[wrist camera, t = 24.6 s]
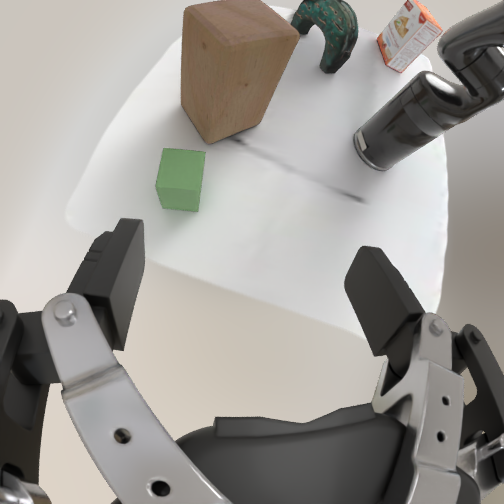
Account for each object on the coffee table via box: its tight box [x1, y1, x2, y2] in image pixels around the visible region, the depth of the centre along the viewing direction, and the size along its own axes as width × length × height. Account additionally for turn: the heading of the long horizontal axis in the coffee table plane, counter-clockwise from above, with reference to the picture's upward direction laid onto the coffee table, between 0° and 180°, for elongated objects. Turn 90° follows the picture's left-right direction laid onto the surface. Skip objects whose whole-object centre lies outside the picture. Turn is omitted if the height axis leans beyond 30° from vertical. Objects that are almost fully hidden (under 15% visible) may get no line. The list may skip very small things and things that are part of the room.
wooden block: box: [181, 0, 300, 144], centre depth 30 cm, size 10×10×20 cm
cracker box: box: [377, 0, 443, 73], centre depth 44 cm, size 14×6×21 cm, turn 174°
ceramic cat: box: [291, 0, 358, 73], centre depth 38 cm, size 20×6×20 cm, turn 20°
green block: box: [156, 148, 206, 212], centre depth 33 cm, size 5×5×8 cm
